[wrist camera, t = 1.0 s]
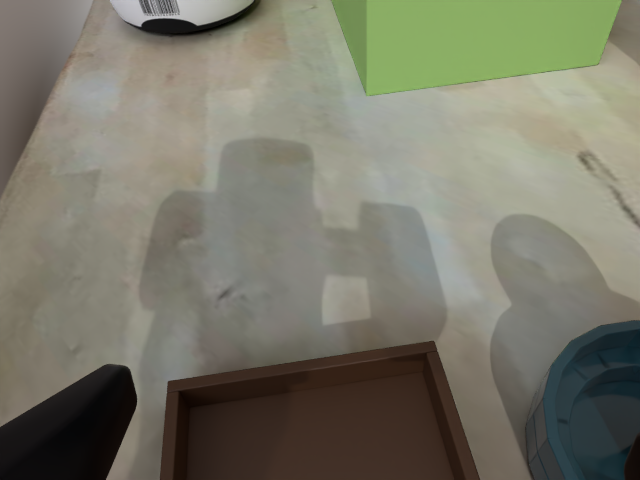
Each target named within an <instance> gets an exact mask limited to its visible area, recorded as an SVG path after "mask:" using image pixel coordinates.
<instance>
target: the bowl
mask: <svg viewBox="0 0 640 480" xmlns="http://www.w3.org/2000/svg"><path fill="white" fill-rule="evenodd" d="M639 432H640V321H638V320H636V321H635V320H633V321H627V322H620V323H614V324H607V325H601V326H598V327H596V328H594V329H593V330H591V331H589V332H587V333H585V334H583V335H581V336H579V337H577V338H575V339H574V340H572V341H571V342H569V344H568V345H567V346H566V347H565V349H564V350H563V351H562V352H561V354H560V355H559V356H558V357H557V359H556V360H555V361H554V362H553V363H552V365H551V367H550V368H549V370H548V372H547V374H546V375H545V377H544V379H543V381H542V383H541V384H540V386H539V388H538V390H537V391H536V393H535V395H534V397H533V401H532V405H531V408H530V412H529V416H528V419H527V423H526V439H527V451H528V462H529V464H530V469H531V471H532V474H533V476H534V479H535V480H625V479H624V464H625V461H626V458H627V456H628V454H629V451H630V449H631V446H632V444H633V442H634V439H635V437H636V435H637V434H638V433H639Z"/></svg>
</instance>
